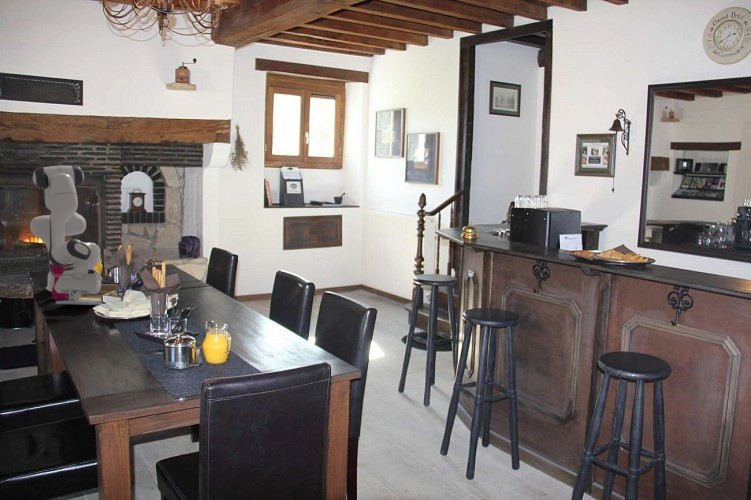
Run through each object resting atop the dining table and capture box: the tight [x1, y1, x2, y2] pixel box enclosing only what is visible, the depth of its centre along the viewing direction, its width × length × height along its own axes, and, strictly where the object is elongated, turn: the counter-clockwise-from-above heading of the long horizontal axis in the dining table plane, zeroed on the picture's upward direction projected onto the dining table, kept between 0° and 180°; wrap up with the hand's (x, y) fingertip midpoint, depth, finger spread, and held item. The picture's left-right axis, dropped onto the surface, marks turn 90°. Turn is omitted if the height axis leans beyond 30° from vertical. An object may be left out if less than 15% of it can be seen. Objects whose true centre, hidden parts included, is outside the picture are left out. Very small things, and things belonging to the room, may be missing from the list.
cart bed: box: [72, 283, 119, 302], centre depth 315 cm, size 14×15×7 cm
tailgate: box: [55, 300, 104, 306], centre depth 301 cm, size 1×16×14 cm
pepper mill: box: [51, 265, 69, 301], centre depth 315 cm, size 7×7×20 cm
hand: (72, 300), depth 294 cm, fingers closed, pressing on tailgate
